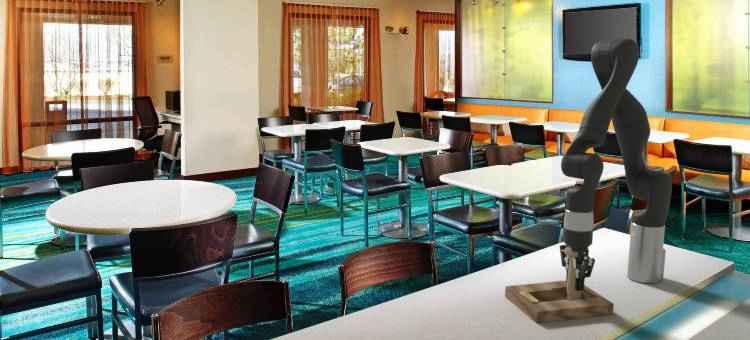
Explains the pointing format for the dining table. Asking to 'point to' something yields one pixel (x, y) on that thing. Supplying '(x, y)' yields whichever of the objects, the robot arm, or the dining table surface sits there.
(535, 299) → the square wooden frame
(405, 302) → the dining table surface
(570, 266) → the handle
